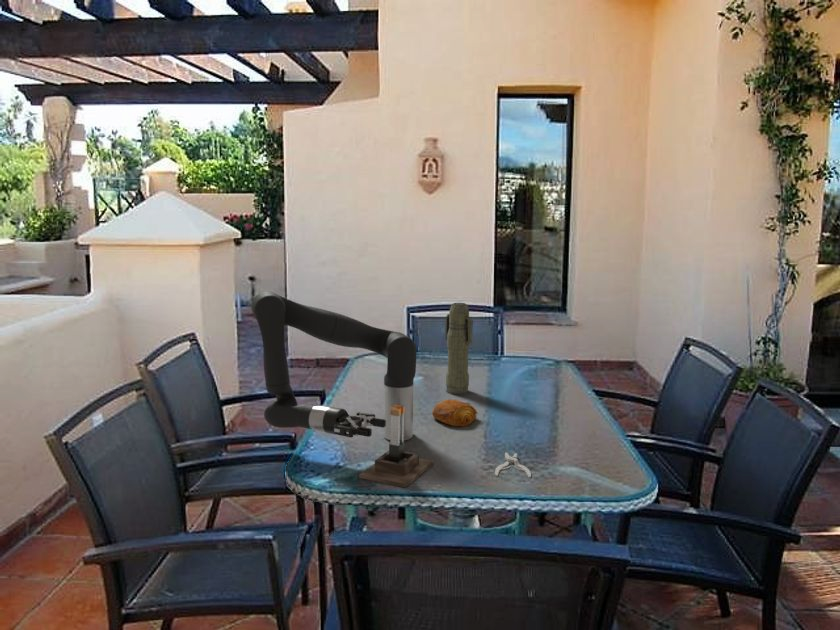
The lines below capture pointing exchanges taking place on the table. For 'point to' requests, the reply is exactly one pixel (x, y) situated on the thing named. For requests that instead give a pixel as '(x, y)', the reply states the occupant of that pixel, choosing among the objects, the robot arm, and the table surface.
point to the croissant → (454, 413)
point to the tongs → (397, 435)
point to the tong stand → (396, 470)
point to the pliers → (509, 461)
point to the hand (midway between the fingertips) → (378, 428)
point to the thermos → (458, 348)
